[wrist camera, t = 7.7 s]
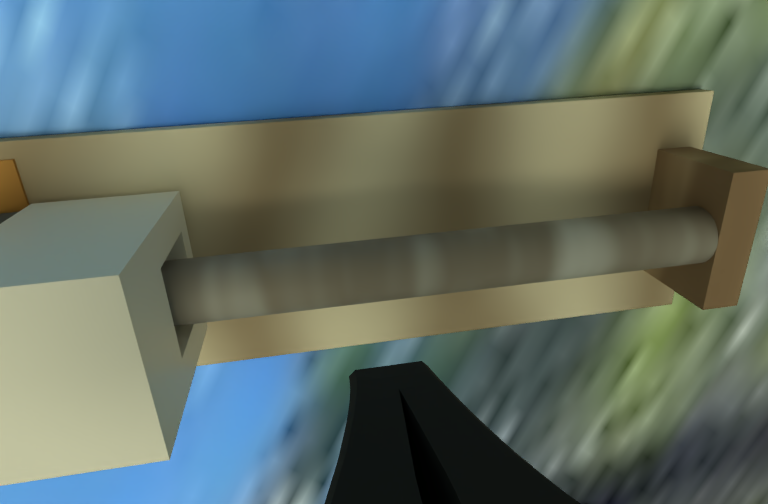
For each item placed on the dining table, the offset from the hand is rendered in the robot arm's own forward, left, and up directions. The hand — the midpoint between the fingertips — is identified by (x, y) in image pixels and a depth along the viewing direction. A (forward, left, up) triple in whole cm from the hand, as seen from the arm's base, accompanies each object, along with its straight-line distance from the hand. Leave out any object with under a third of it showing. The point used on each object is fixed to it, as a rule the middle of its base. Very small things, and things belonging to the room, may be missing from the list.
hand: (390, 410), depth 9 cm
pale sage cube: (+7, 0, -8) cm, 10 cm away
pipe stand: (+3, 0, -9) cm, 9 cm away
